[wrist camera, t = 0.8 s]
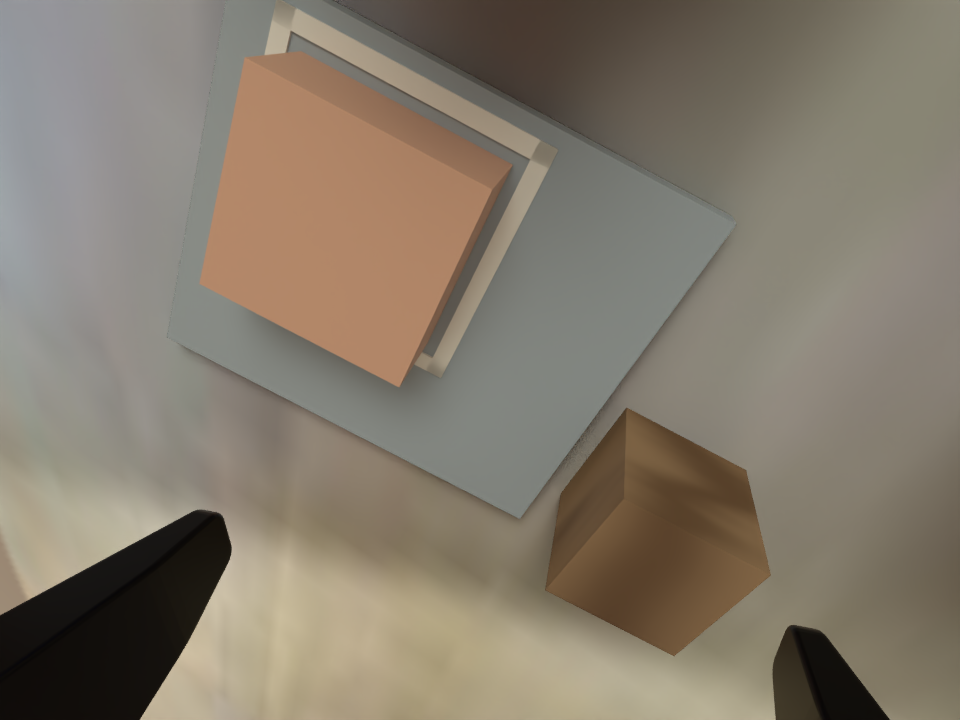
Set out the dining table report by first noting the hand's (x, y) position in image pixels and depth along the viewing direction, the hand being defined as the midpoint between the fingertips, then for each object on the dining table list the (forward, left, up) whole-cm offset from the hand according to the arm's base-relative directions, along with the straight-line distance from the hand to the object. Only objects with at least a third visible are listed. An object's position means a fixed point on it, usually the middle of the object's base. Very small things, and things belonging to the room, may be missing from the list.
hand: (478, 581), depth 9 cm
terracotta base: (+7, +1, -12) cm, 14 cm away
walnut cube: (-7, +6, -13) cm, 16 cm away
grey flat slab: (+5, +3, -13) cm, 14 cm away
